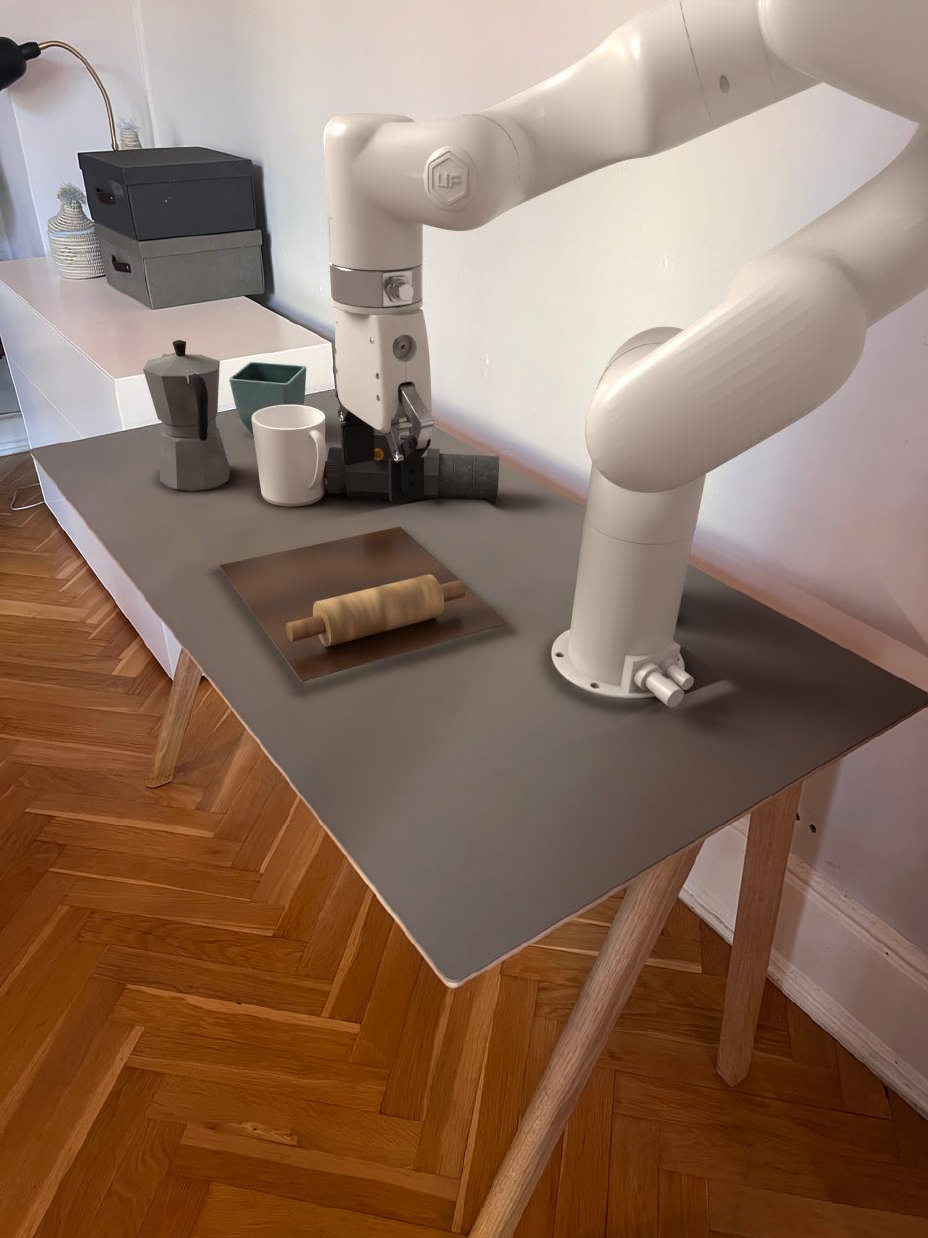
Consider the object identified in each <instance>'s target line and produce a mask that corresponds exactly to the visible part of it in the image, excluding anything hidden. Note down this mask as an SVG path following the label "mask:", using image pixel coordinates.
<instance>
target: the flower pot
mask: <svg viewBox="0 0 928 1238" xmlns="http://www.w3.org/2000/svg"><path fill="white" fill-rule="evenodd" d="M228 381H229V385H230V389H231V394H232V397H233V402H234V406H235V410H236V412H237V415H238V417H239V419H240V421H241V422H242V424H243V425H244V427H245V428H246V429H247V430H248V432H249V433H250V434H251V435H253V436H254V434H253V427H252V415H253V414H254V413H255V412H256V411H258V410H260V409H263V408H266V407H271V406H277V405H303V406H304V404H305V397H306V382H307V366H305V365H299V364H298V365H297V364H285V363H272V362H262V361H261V362H259V361H250V362H248V363H247V364H246V365H244V366H243V367H242V368H240V370H238V371H237V372H236V373H235V374H233V375H232V376H230V377H229V379H228Z"/></svg>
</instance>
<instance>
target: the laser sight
mask: <svg viewBox="0 0 928 1238" xmlns="http://www.w3.org/2000/svg"><path fill="white" fill-rule="evenodd" d="M398 422H400V419H397V420H392V424H393V423H398ZM408 436H410V434H409V435H408V434H400V433H398V437H399V440H400V443H401V445H402V443H403V442H404V441H405V439H406V438H407V437H408ZM374 444H375V458H374V459H373V460H372V461H367V462H362V463H357V464H352V465H346V464H344V463H343V462H342V447H334V446H333V447H332V446H329V448H328V452H327V456H326V460H325V468H324V478H325V480H326V487H327V491H328V493H329V494H339V495H340V494H347V497H348V499H349V498H350V499H373V500H389V466H388V459H392V458H393V456H392V453H391V450H390V446H389V443H388V440H387V437H386V434H385V433H382V432H380V431H378V430H377V429H375V428H374ZM499 474H500V455H483V454H482V455H481V454H480V455H479V454H460V453H441V449H440V448H433V447H428V449H427V456H426V457H424V495H423V497H422V498H418V499H414V500H411V502H412V501H415V502H416V501H417V502H426V501H430V500H436V499H439V498H460V499H461V498H464V499H467V498H468V499H481V500H493V501H497V500H498V493H499V478H500V477H499V476H500V475H499Z"/></svg>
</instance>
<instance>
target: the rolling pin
mask: <svg viewBox="0 0 928 1238" xmlns="http://www.w3.org/2000/svg"><path fill="white" fill-rule="evenodd" d="M463 583H464V581H462V580H461V579H459V580H457V581H453V582H449V583H445V584H441V585H440V584H439V582H438V581H437V579H436V578H435V577H434V576H433V575H430V574H428V575H424V576H419V577H415V578H411V579H407V580H403V581H399V582H395V583H391V584H386V585H382V586H378V587H374V588H370V589H366V590H362V591H358V592H353V593H349V594H345V595H341V596H337V597H333V598H329V599H325V600H320V601H316V602H315V603H314V606H313V617H309V618H305V619H301V620H297V621H293V622H289V623H287V624H286V631H287V635H288V638H289V639H290V641H291V642H294V641H297V640H301V639H305V638H309V637H313V636H317V635H318V636H319V638H320V640H321V642H322V643H323V644H324V645H325V646H326V647H329V646H333V645H337V644H340V643H344V642H348V641H352V640H355V639H359V638H363V637H367V636H370V635H374V634H378V633H381V632H385V631H389V630H393V629H396V628H400V627H404V626H408V625H411V624H415V623H419V622H423V621H426V620H430V619H434V618H437V617H440V616H441V615H442V614H443V611H444V602H447V601H451V600H455V599H459V598H463V597H464V596H465V594H466V590H465V586H464V584H465V583H464V584H463Z"/></svg>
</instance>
